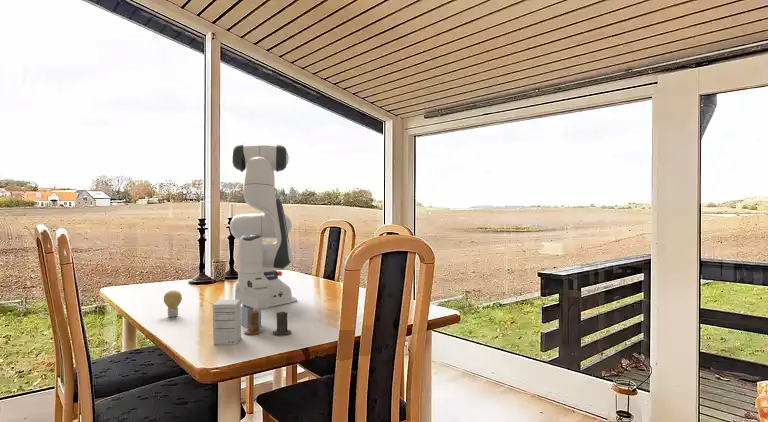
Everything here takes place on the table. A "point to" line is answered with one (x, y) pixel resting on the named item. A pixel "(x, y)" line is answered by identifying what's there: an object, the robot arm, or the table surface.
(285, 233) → the robot arm
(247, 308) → the cap
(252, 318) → the walnut post
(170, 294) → the light bulb
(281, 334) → the black post
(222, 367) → the table surface
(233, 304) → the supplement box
